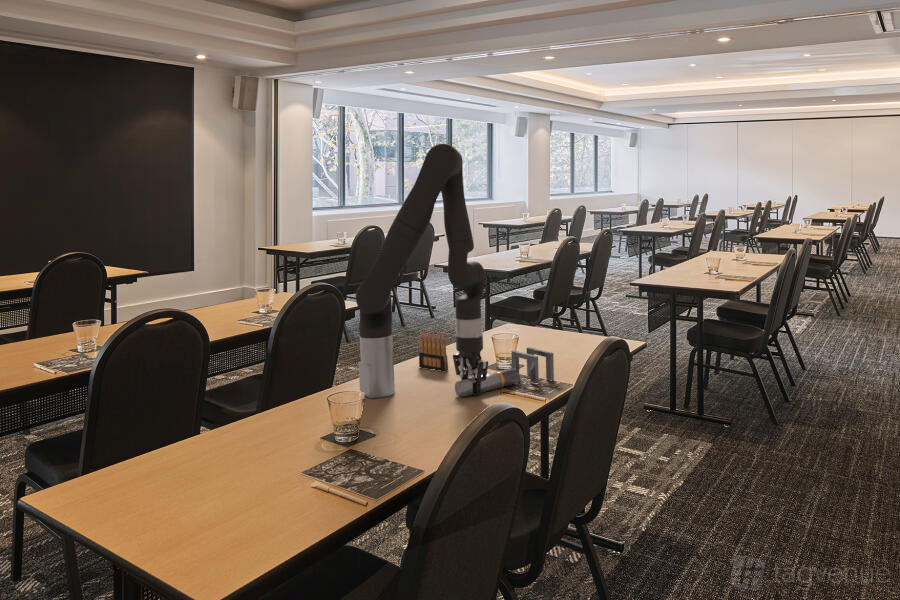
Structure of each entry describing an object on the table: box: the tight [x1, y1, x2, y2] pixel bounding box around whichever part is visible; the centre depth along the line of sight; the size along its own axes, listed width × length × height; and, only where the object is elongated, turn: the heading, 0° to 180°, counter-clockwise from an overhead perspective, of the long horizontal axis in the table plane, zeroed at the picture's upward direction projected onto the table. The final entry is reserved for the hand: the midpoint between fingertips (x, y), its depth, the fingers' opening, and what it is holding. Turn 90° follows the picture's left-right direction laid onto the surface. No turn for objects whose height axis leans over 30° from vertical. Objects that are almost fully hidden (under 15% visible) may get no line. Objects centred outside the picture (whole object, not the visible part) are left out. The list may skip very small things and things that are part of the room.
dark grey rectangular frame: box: [526, 346, 555, 382], centre depth 222 cm, size 1×11×8 cm, turn 35°
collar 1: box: [511, 350, 540, 383], centre depth 218 cm, size 1×11×8 cm, turn 35°
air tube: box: [454, 368, 521, 399], centre depth 211 cm, size 20×5×5 cm, turn 125°
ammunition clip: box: [418, 331, 449, 372], centre depth 236 cm, size 11×2×12 cm, turn 52°
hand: (471, 392), depth 208 cm, fingers closed on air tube, 4 cm apart
